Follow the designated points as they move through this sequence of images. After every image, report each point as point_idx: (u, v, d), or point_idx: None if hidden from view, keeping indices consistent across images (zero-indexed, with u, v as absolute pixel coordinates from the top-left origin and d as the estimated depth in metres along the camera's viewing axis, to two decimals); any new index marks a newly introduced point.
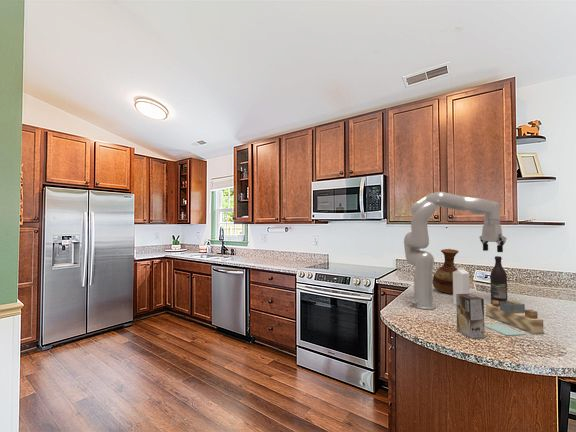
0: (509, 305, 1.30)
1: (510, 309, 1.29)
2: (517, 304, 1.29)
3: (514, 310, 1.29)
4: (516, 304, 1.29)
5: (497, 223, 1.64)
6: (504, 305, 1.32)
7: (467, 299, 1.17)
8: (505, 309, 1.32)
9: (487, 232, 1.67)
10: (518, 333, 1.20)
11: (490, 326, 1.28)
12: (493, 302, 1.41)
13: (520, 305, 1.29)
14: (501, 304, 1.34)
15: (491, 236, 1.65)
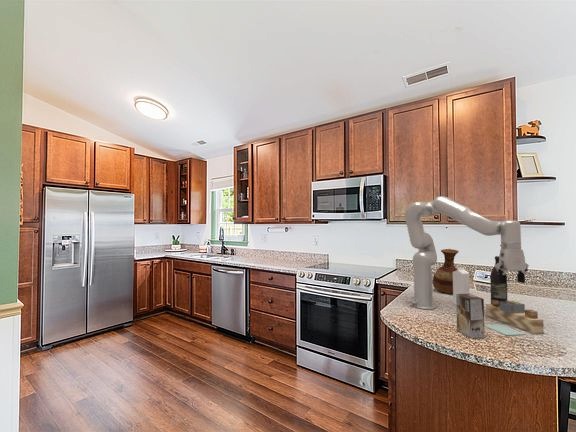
0: (509, 305, 1.30)
1: (510, 309, 1.29)
2: (517, 304, 1.29)
3: (514, 310, 1.29)
4: (516, 304, 1.29)
5: None
6: (504, 305, 1.32)
7: (467, 299, 1.17)
8: (505, 309, 1.32)
9: (515, 259, 1.30)
10: (518, 333, 1.20)
11: (490, 326, 1.28)
12: (493, 302, 1.41)
13: (520, 305, 1.29)
14: (501, 304, 1.34)
15: (521, 264, 1.30)
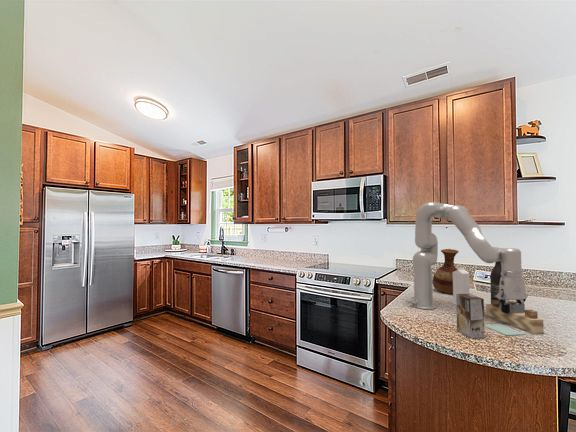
0: (509, 305, 1.30)
1: (510, 309, 1.29)
2: (517, 304, 1.29)
3: (514, 310, 1.29)
4: (516, 304, 1.29)
5: None
6: None
7: (467, 299, 1.17)
8: None
9: (516, 288, 1.30)
10: (518, 333, 1.20)
11: (490, 326, 1.28)
12: (493, 302, 1.41)
13: (520, 305, 1.29)
14: None
15: (521, 293, 1.30)
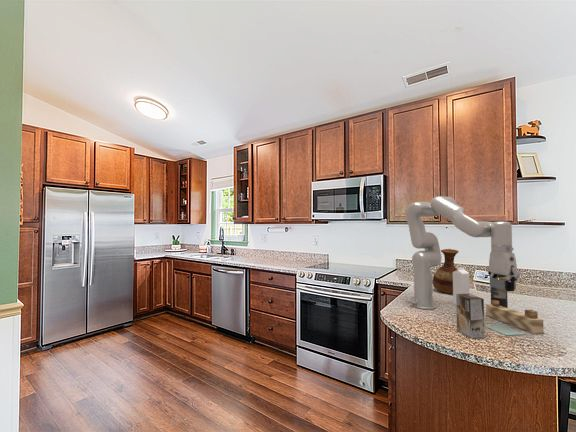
0: None
1: (514, 285, 1.22)
2: None
3: None
4: None
5: None
6: None
7: (467, 299, 1.17)
8: None
9: None
10: (518, 333, 1.20)
11: (490, 326, 1.28)
12: (493, 302, 1.41)
13: None
14: (505, 283, 1.21)
15: None
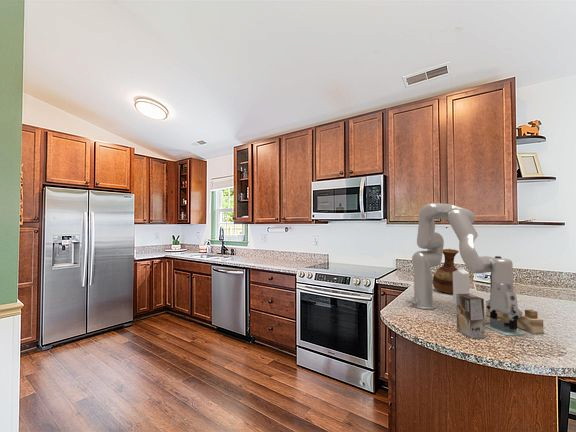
0: None
1: None
2: None
3: None
4: None
5: None
6: (508, 325, 1.21)
7: (467, 299, 1.17)
8: (510, 329, 1.21)
9: None
10: (518, 333, 1.20)
11: None
12: None
13: None
14: (505, 325, 1.21)
15: None
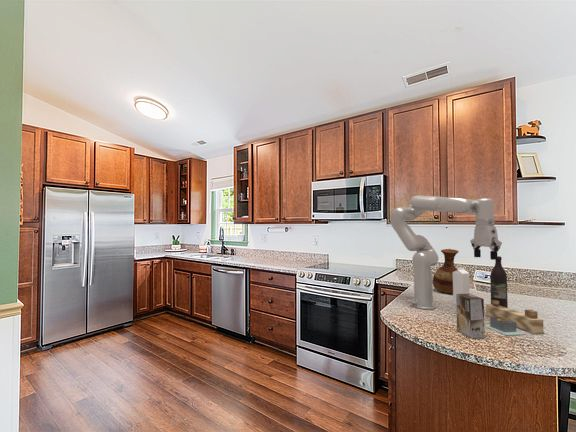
0: (514, 323, 1.21)
1: (515, 327, 1.21)
2: None
3: None
4: None
5: None
6: (508, 325, 1.21)
7: (467, 299, 1.17)
8: (510, 329, 1.21)
9: None
10: (518, 333, 1.20)
11: None
12: (493, 302, 1.41)
13: None
14: (505, 325, 1.21)
15: None
